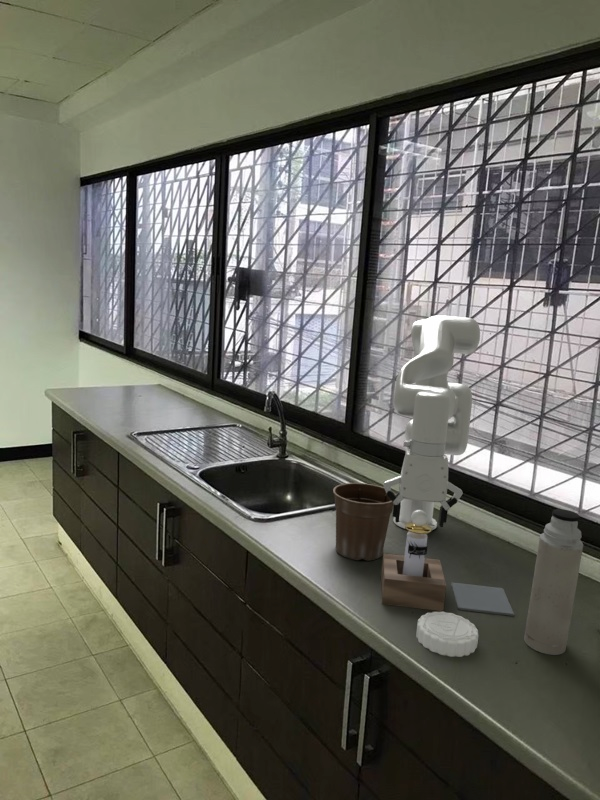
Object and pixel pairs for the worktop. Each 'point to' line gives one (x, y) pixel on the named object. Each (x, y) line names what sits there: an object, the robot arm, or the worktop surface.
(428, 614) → the mooncake
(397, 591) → the frame
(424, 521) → the perfume bottle
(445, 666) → the worktop surface
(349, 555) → the plant pot
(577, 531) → the thermos bottle
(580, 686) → the worktop surface
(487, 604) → the mat
